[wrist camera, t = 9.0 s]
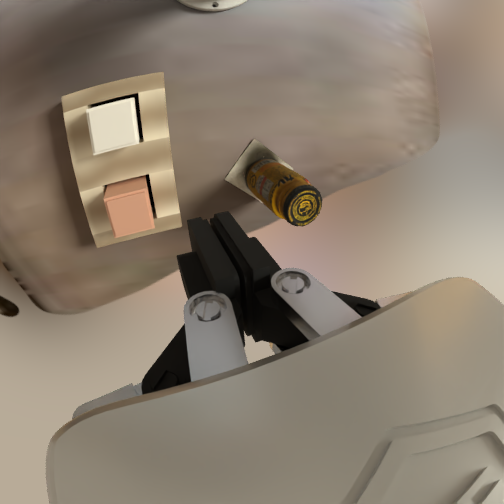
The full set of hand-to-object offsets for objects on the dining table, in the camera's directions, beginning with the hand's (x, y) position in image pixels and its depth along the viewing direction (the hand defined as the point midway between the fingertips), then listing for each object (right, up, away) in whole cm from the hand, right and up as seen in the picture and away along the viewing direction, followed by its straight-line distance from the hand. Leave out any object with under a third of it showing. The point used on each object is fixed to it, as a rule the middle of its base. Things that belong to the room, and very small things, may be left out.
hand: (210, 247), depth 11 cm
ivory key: (-14, +15, +16) cm, 26 cm away
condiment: (+3, +12, +29) cm, 32 cm away
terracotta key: (-14, +7, +22) cm, 27 cm away
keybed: (-15, +12, +20) cm, 28 cm away
